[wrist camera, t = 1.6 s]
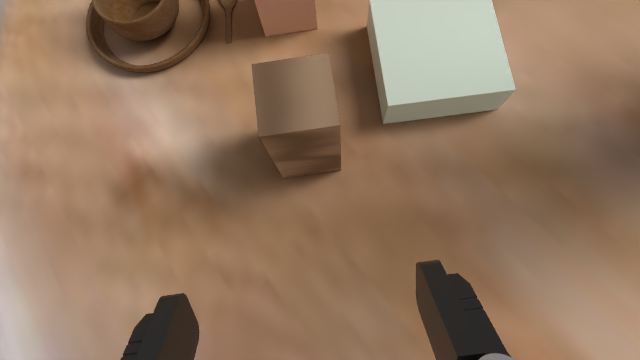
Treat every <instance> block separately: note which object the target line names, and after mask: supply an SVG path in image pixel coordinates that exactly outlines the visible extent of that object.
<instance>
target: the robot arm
mask: <svg viewBox="0 0 640 360" xmlns="http://www.w3.org/2000/svg"><path fill="white" fill-rule="evenodd" d="M416 299H417V305H418V309H419V312H420V315H421V318H422V321H423V324H424V326H425V329H426V332H427V335H428V338H429V341H430V343H431V346H432V349H433V352H434V355H435V357H436V360H515V359H514V358H512V357H511V356H510V355H509V354H508V352H507V351H506V349H505V347H504V345H503V344H502V342H501V340H500V338H499V336H498V334H497V333H496V331H495V329H494V327H493V325H492V323H491V322H490V320H489V318H488V316H487V314H486V312H485V311H484V310H483V307H482V305H481V303H480V301H479V300H478V299H477V296H476V294H475V292H474V290H473V289H472V287H471V285H470V283H468V282H467V281H466V280H465V279H464V278H463V277H461V276H460V275H459V274H458V273H456V274H448V275H447V274H446V272H445V270H444V268H443V266H442V264H441V262H440V261H439V260H433V261H426V262H418V263H417V264H416ZM198 341H199V325H198V322H197V319H196V317H195V315H194V312H193V310H192V307H191V305H190V303H189V300H188V298H187V296H186V295H185V294H184V293H182V294H175V295H167V296H162V297H160V299H159V300H158V303H157V305H156V308H155V310H154V313H151V314H146V315H145V316H144V317H143V318H142V320H141V321H140V322H139V323H138V324H137V325H136V327H135V328H134V330H133V332H132V335H131V337H130V339H129V342H128V345H127V346H126V348H125V351H124V353H123V357H122V358H121V360H194V357H195V353H196V349H197V345H198Z"/></svg>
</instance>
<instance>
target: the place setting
mask: <svg viewBox="0 0 640 360" xmlns="http://www.w3.org/2000/svg"><path fill="white" fill-rule="evenodd" d="M236 2H237V0H220V3H221V5H222V6H223V8H224V9H225V12H226V44H229V43H231V42H232V30H231V12H232V9H233V8H234V6H235V4H236ZM200 3H201V6H202V10H203V22H202V25H201V27H200V29H199V31H198V33H197V34H196V36H195V37H194V39H193V40H192V41H191V42H190V43H189V44H188V45H187V46H186V47H185V48H184V49H183V50H182V51H180V52H179V53H177V54H176V55H174V56H173V57H171V58H169V59H167V60H164V61H161V62H159V63H155V64H151V65H144V66H136V65H132V64H129V63H126V62H124V61H122V60H120V59H119V58H118V57H116V56H115V55H114V54H113V53H112V52H111V50H110V49H109V47H108V45H107V43H106V40H105V37H104V22H106V23H107V24H108V25H109V26H110V27H111V28H112V29H113V30H114V31H116V32H117V33H118V34H120V35H121V36H123V37H125V38H128V39H131V40H135V41H147V40H152V39H155V38H157V37H159V36H161V35H163V34H164V33H166V32H167V31H168V30H169V29H170V28H171V27H172V25H173V24H174V22H175V21H176V18H177V16H178V12H179V1H178V0H92V2H91V4H90V7H89V10H88V14H87V21H86V27H87V34H88V37H89V40H90V42H91V44H92V46H93V47H94V49H95V50H96V51H97V53H98V54H99V55H100V56H101V57H103V58H104V59H105V60H106V61H108V62H109V63H111V64H113V65H114V66H116V67H119V68H121V69H124V70H128V71H133V72H153V71H158V70H162V69H165V68H168V67H171V66H173V65H175V64H177V63H179V62H180V61H182V60H183V59H185V58H186V57H187V56H188V55H190V54H191V53H192V52H193V51H194V50H195V49H196V47H197V46H198V45H199V43H200V42H201V40H202V39H203V37H204V35H205V33H206V30H207V28H208V24H209V19H210V5H209V0H200Z"/></svg>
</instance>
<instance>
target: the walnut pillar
mask: <svg viewBox="0 0 640 360" xmlns="http://www.w3.org/2000/svg"><path fill="white" fill-rule="evenodd" d="M252 73H253V84H254V94H255V104H256V115H257V125H258V135H259V138H260V140H261V142H262V143H263V145H264V147H265V148H266V150H267V152H268V154H269V155H270V157H271V159H272V160H273V162H274V164H275V165H276V167H277V169H278V171H279V172H280V174H281V176H282V177H283V179H284V178H291V177H298V176H305V175H312V174H319V173H326V172H333V171H340V170H341V146H340V120H339V114H338V107H337V101H336V95H335V88H334V82H333V75H332V69H331V63H330V56H329V53H324V54H318V55H311V56H304V57H297V58H291V59H284V60H277V61H271V62H264V63H257V64H252Z"/></svg>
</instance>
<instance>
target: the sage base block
mask: <svg viewBox="0 0 640 360" xmlns="http://www.w3.org/2000/svg"><path fill="white" fill-rule="evenodd" d="M367 31H368V37H369V43H370V49H371V55H372V61H373V67H374V72H375V78H376V84H377V90H378V96H379V102H380V108H381V114H382V120H383V124H387V123H395V122H403V121H411V120H419V119H426V118H434V117H442V116H450V115H458V114H466V113H473V112H481V111H489V110H497V109H498V108H499V107H500V106H501V105H502V104H503V103H504V102H505V101H506V99H507V98H508V97H509V96H510V95H511V94H512V93H513V92H514V91H515V90H516V89H515V85H514V82H513V78H512V74H511V71H510V67H509V63H508V59H507V56H506V52H505V48H504V45H503V41H502V37H501V33H500V30H499V26H498V22H497V19H496V15H495V11H494V7H493V4H492V0H369V10H368V20H367Z"/></svg>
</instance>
